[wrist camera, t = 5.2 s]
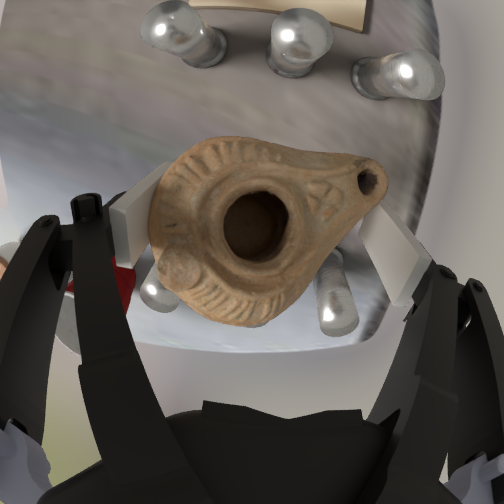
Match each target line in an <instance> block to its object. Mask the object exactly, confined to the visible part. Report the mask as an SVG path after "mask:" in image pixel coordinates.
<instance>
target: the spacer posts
mask: <svg viewBox="0 0 504 504" xmlns="http://www.w3.org/2000/svg"><path fill="white" fill-rule="evenodd" d="M141 36H142V38H143V40H144V42H145V43H146V44H148V45H149V46H151V47H153V48H156V49H159V50H162V51H165V52H168V53H170V54H173V55H176V56H178V57H181V58H182V60H183V61H184V62H185V63H186V64H188V65H190V66H192V67H195V68H209V67H212V66H214V65H216V64H217V63H219V62H220V61H221V60H222V59H223V58H224V56H225V54H226V52H227V47H228V45H227V40H226V38H225V36H224V35H223V34H222V33H221V32H220V31H219V30H218V29H216V28H213V27H210V26H209V25H208V23H207V22H206V21H205V20H204V19H203V18H202V17H201V16H200V15H199V14H198V13H197V12H196V11H195V10H194V9H193V7H192V6H191V5H189V4H188V3H186V2H183V1H180V0H170V1H166V2H163V3H160V4H158V5H157V6H155V7H154V8H152V9H151V10H150V11H149V12H148V13H147V14H146V16H145V17H144V19H143V21H142V24H141ZM333 40H334V33H333V29H332V26H331V25H330V23H329V22H328V20H327V19H326V18H325V17H324V16H322V15H321V14H320V13H318V12H316V11H314V10H311V9H307V8H291V9H288V10H285V11H283V12H282V13H280V14H279V15H278V16H277V17H276V18H275V20H274V21H273V23H272V27H271V43H270V44H269V45H268V48H267V51H266V59H267V63H268V65H269V67H270V68H271V69H272V70H273V71H274V72H275V73H276V74H278V75H280V76H282V77H286V78H298V77H301V76H303V75H305V74H307V73H308V72H309V71H310V70H311V69H312V68H313V66H314V64H315V61H316V60H317V59H319V58H320V57H321V56H323V55H324V54H325V53H326V52H328V50H329V49H330V48H331V46H332V44H333ZM351 81H352V84H353V86H354V88H355V89H356V90H357V92H358V93H360V94H361V95H362V96H364V97H366V98H368V99H373V100H381V99H385V98H387V97H388V96H389V97H402V98H412V99H421V100H434V99H436V98H438V97H439V96H440V95H441V94H442V92H443V90H444V86H445V76H444V72H443V69H442V67H441V65H440V63H439V62H438V60H437V59H436V58H435V57H434V56H433V55H432V54H430V53H429V52H427V51H425V50H422V49H411V50H407V51H403V52H398V53H395V54H391V55H387V56H383V57H380V58H375V57H366V58H363V59H360V60H358V61H357V62H356V63H355V64H354V65H353V67H352V69H351ZM343 264H344V261H343V257H342V254H341V252H340V251H339V250H338V249H337V248H336V247H335V248H334V250H332V252H331V253H330V254H329V255H328V257H327V258H326V259H325V260H324V262H323V264H322V265H321V266H320V268H319V269H318V271H317V273H316V275H315V276H314V278H313V280H312V282H313V287H314V293H315V298H316V304H317V310H318V316H319V322H320V328H321V331H322V332H323V333H324V334H325V335H327V336H331V337H340V336H344V335H347V334H349V333H351V332H352V331H353V330H355V329H356V327H357V326H358V324H359V315H358V312H357V309H356V306H355V303H354V300H353V297H352V293H351V290H350V287H349V284H348V282H347V279H346V276H345V273H344V270H343ZM156 267H157V265H156V262H155V263H154V265H153V267H152V268H151V270H150V272H149V273H148V275H147V277H146V279H145V280H144V282H143V284H142V286H141V288H140V297H141V299H142V300H143V302H144V303H145V304H146V305H147V306H148V307H150V308H151V309H153V310H155V311H158V312H162V313H168V312H172V311H174V310H175V309H176V308H177V306H178V303H179V301H180V298H179V297H178V296H177V295H176V294H175V293H174V292H173V291H170V290H168V289H166V288H165V287H164V286H163V285H162V283H161V282H160V280H159V278H158V276H157V269H156ZM268 322H269V321H267V322H264V323H260V324H256V325H251V326H243V327H248V328H256V327H261V326H263V325H265V324H267V323H268Z"/></svg>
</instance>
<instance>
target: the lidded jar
mask: <svg viewBox="0 0 504 504" xmlns="http://www.w3.org/2000/svg"><path fill="white" fill-rule="evenodd" d="M20 244H21V243H18V242H9V243H6V244H4V245H2V246H0V279H1V278H2V276H3V274H4V272H5V270H6V268H7V266H8V264H9V262H10V261H11V259H12V257H13V255H14V254H15V252H16V250H17V249H18V247H19V245H20Z"/></svg>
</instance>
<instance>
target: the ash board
mask: <svg viewBox="0 0 504 504" xmlns="http://www.w3.org/2000/svg"><path fill="white" fill-rule="evenodd" d="M189 5H191V6H192V7H193V9H235V10H249V11H259V12H268V13H275V14H280V13H282V12H283V11H285V10H288V9H291V8H307V9H311V10H314V11H316V12H318V13H320V14H321V15H322V16H324V17H325V18H326V19H327V20H328V22H329V23H330V25H333V26H337V27H341V28H344V29H347V30H351V31H354V32H357V33H360V32H362V30H363V22H364V14H365V6H366V0H189Z"/></svg>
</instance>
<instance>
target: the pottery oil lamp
mask: <svg viewBox="0 0 504 504" xmlns="http://www.w3.org/2000/svg"><path fill="white" fill-rule="evenodd" d="M387 189H388V176H387V174H386V172H385V170H384V169H383V167H382V166H381V165H380V164H379V163H378V162H376V161H374V160H372V159H369V158H364V157H359V156H355V155H350V154H345V153H344V154H341V153H326V152H312V151H303V150H299V149H294V148H290V147H286V146H282V145H279V144H275V143H270V142H266V141H261V140H258V139H254V138H249V137H240V136H222V137H214V138H210V139H207V140H205V141H202V142H200V143H198V144H196V145H195V146H193V147H192V148H190V149H188V150H187V151H185V152H184V153H183V154H182V155H181V156H180V157H179V158H178V159H177V160H176V161H174V162H173V163H172V164H171V166H170V167H169V168H168V169H167V170H166V172H165V173H164V175H163V177H162V179H161V181H160V183H159V185H158V186H157V188H156V192H155V196H154V197H153V199H152V202H151V206H150V212H149V219H148V236H149V240H150V245H151V248H152V252H153V255H154V258H155V261H156V265H157V267H156V269H157V276H158V278H159V280H160V282H161V283H162V285H163V286H164V287H165V288H166V289H168V290H170V291H173V292H174V293H175V294H176V295H177V296H178V297H179V298H181V299H182V300H183V301H184V302H185V303H186V304H187V305H188V306H190V307H191V308H192V309H193V310H195V311H196V312H197V313H198V314H200V315H202V316H204V317H205V318H207V319H210V320H213V321H217V322H220V323H223V324H228V325H235V326H251V325H256V324H260V323H264V322H267V321H270V320H272V319H274V318H275V317H277V316H278V315H279V314H281V313H282V312H283V311H285V310H286V309H287V308H288V307H289V306H290V305H292V304H293V303H294V302H295V301H296V300H297V299H298V298H299V297H300V296H301V295H302V294H303V293H304V291H305V290H306V288H307V287H308V286H309V284H310V282H311V281H312V280H313V278H314V276H315V275H316V273H317V271H318V269H319V268H320V266H321V265H322V264H323V262H324V260H325V259H326V258H327V257H328V255H329V254H330V253H331V252H332V250H334V248H335V247H336V246H337V245H338V244H339V242H340V241H341V240H342V239H343V238H344V237H345V236H346V234H347V233H348V232H349V231H350V230H351V229H352V228H353V227H354V226H355V225H356V223H357V222H358V221H359V220H360V219H361V218H362V217H364V216H365V215H366V214H367V213H368V212H369V211H370V210H371V209H372V208H373V207H374V206H375V205H377V204H378V203H379V202H380V201H381V200H382V199H383V197H384V196H385V194H386V192H387Z"/></svg>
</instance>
